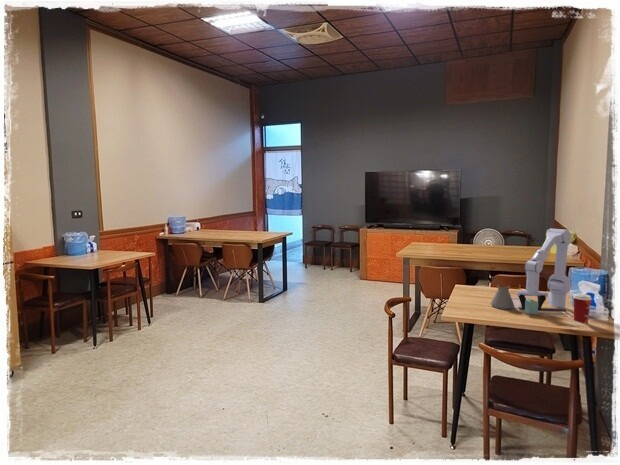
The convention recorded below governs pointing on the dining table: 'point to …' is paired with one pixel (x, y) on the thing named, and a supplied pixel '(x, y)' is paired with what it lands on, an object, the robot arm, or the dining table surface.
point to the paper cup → (581, 307)
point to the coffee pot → (502, 297)
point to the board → (549, 312)
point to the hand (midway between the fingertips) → (531, 309)
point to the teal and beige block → (531, 306)
